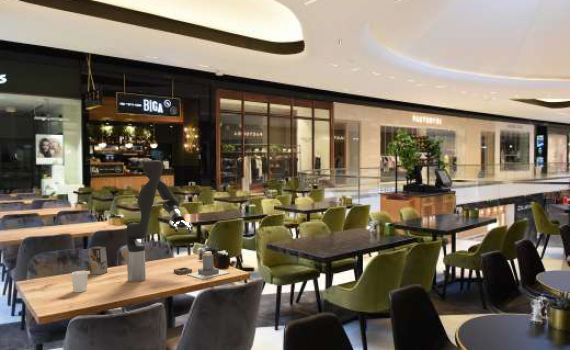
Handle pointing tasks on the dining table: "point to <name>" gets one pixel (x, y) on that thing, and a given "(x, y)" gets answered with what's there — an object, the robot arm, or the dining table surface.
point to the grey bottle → (208, 261)
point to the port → (207, 273)
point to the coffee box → (98, 260)
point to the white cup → (79, 281)
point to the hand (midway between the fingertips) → (183, 231)
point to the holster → (182, 270)
